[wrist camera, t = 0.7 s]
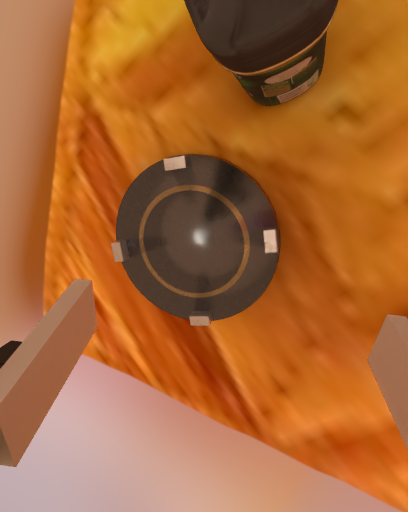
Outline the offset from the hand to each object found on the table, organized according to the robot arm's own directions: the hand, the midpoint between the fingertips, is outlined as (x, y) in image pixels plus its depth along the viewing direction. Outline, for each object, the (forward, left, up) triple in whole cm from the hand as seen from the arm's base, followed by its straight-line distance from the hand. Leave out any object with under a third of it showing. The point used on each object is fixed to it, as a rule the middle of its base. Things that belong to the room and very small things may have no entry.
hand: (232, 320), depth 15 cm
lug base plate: (+9, +1, -23) cm, 25 cm away
